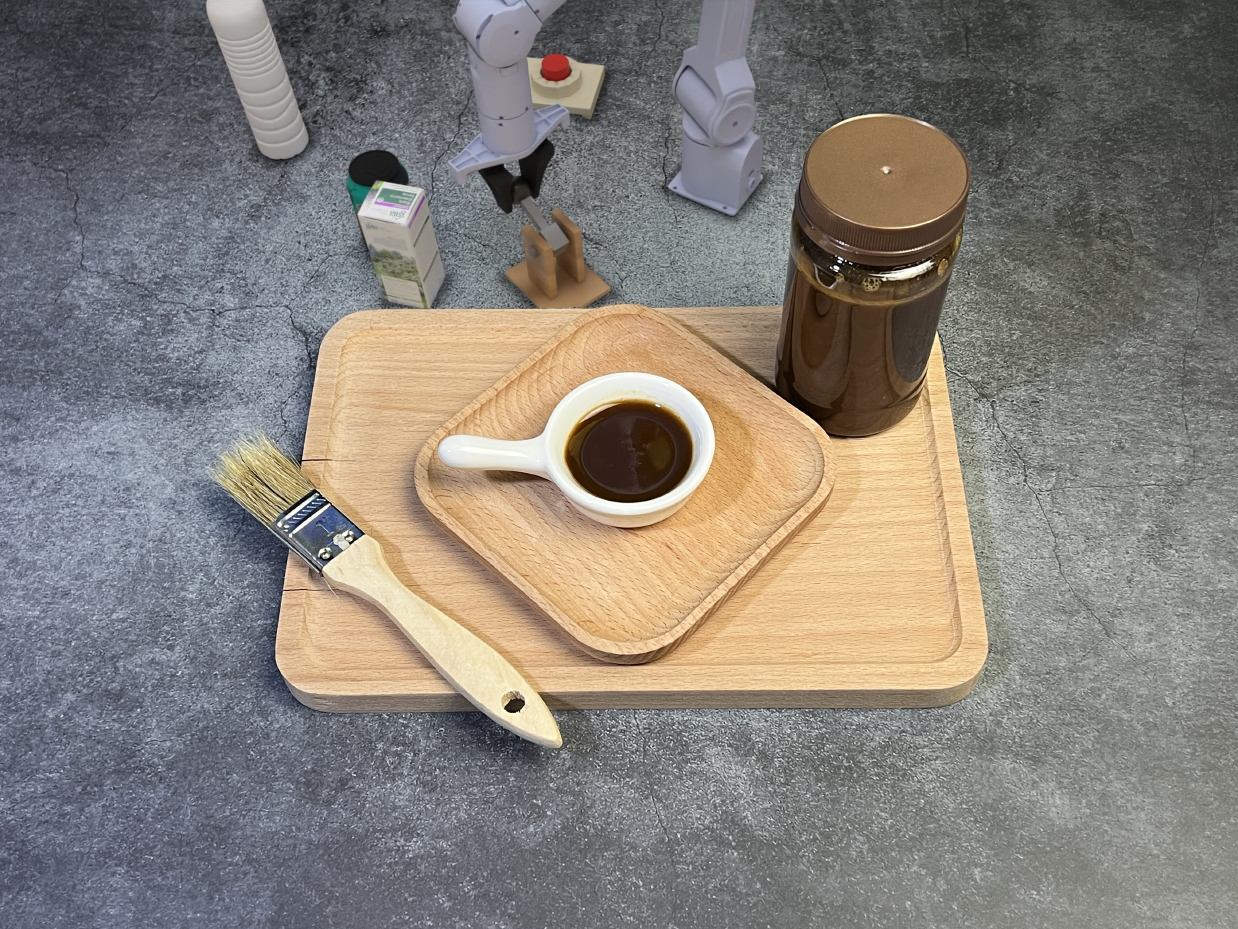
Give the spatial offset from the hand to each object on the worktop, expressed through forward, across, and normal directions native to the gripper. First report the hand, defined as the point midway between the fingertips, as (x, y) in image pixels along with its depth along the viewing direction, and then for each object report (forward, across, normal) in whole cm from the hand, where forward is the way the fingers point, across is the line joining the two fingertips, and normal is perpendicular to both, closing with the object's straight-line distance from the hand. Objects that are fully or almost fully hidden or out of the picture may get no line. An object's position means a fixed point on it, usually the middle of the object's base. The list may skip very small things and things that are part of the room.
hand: (518, 200), depth 124 cm
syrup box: (+9, +13, -4) cm, 17 cm away
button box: (+9, -21, -21) cm, 31 cm away
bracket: (+9, 0, +6) cm, 11 cm away
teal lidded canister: (+9, +11, -12) cm, 19 cm away
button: (+6, -21, -21) cm, 30 cm away
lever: (+1, 0, +2) cm, 3 cm away
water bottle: (+9, +12, -37) cm, 40 cm away
